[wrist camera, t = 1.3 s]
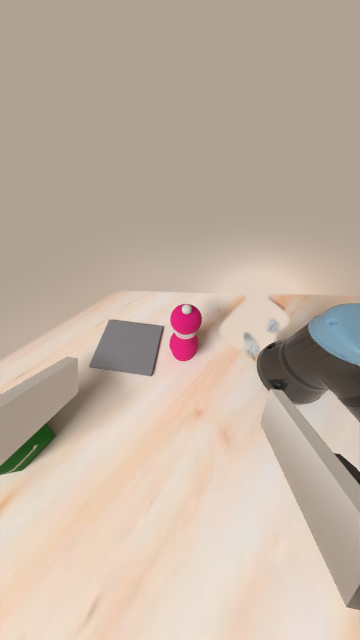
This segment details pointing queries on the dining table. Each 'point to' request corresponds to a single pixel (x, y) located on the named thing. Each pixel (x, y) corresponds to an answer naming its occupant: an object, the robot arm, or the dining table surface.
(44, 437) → the milk carton
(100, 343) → the rubber mat
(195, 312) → the pepper mill
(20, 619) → the dining table surface
